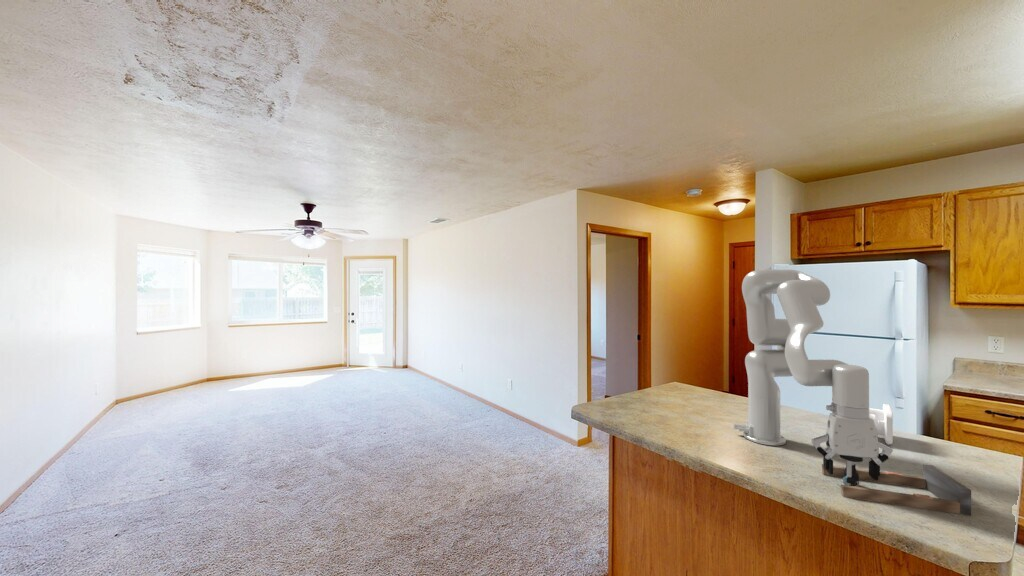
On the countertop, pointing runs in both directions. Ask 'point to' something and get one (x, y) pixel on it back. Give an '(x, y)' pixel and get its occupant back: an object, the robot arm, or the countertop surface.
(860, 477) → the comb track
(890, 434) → the cable organizer
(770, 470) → the countertop surface
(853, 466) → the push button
